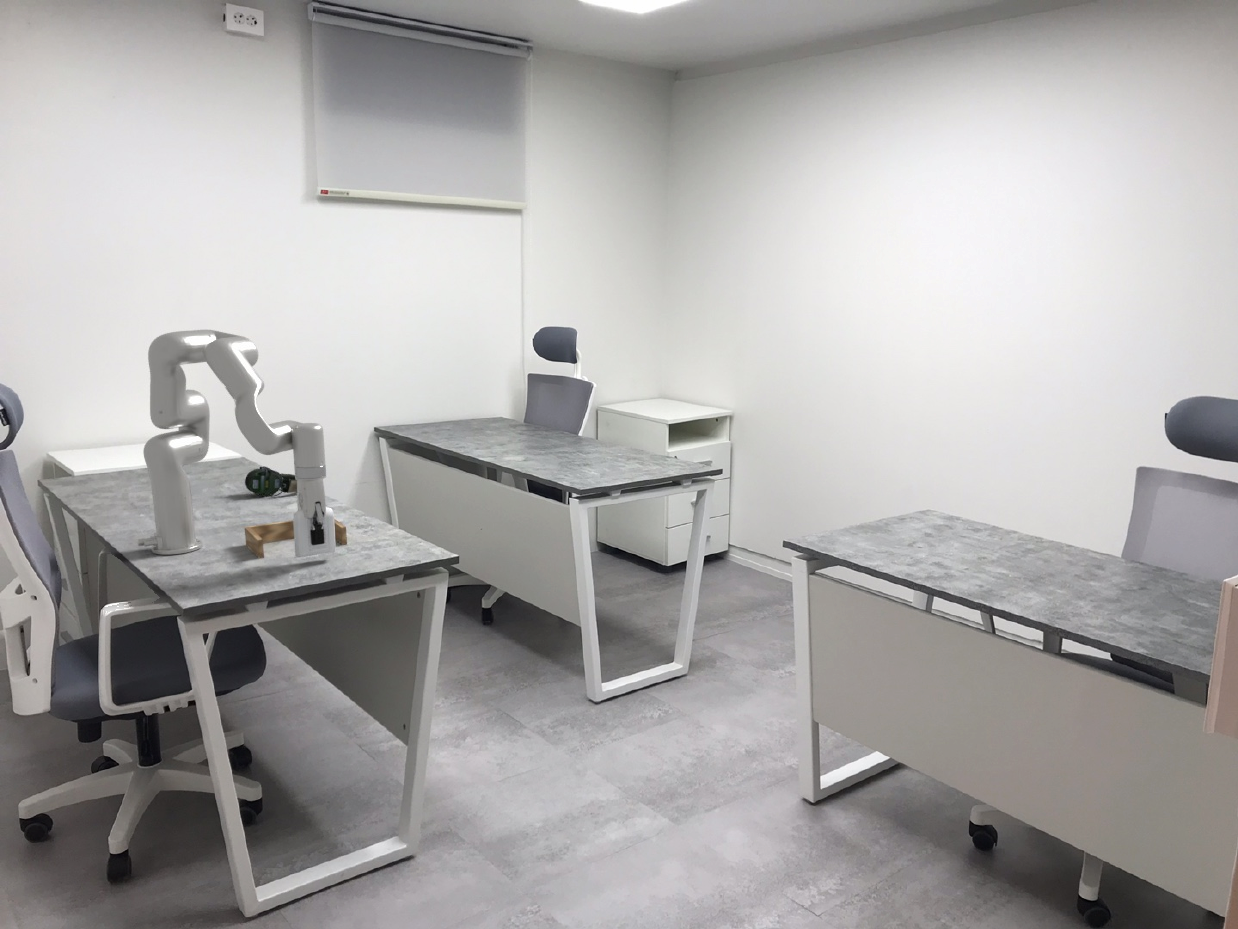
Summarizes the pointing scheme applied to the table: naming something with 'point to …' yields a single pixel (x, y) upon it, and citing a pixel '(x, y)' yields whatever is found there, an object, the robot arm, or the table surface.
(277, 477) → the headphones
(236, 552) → the table surface
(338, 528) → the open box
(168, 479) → the robot arm
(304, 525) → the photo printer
